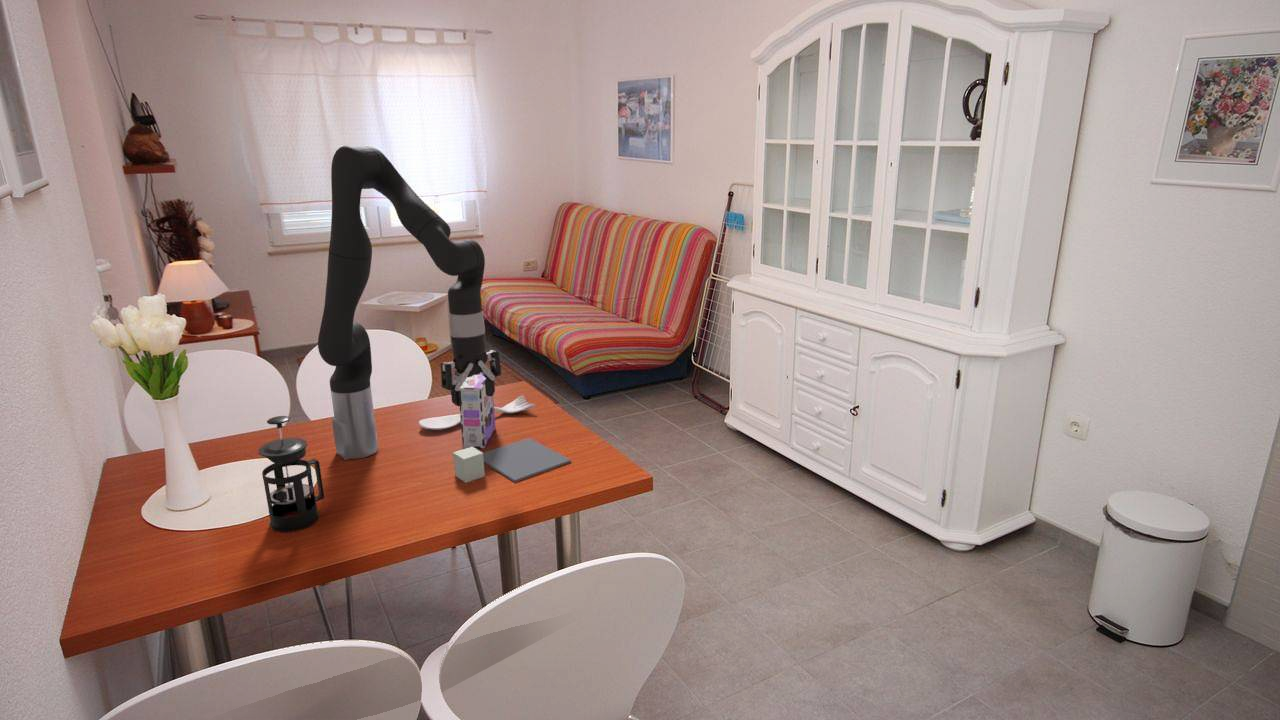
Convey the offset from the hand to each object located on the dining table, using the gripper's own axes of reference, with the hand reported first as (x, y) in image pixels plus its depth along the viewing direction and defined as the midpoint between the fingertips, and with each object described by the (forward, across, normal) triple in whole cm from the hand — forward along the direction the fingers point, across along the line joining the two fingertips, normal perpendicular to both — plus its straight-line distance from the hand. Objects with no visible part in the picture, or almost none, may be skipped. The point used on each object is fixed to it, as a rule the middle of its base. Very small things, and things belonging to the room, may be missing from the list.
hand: (474, 400), depth 168 cm
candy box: (+19, -12, -19) cm, 29 cm away
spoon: (+19, -19, -30) cm, 40 cm away
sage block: (+19, +2, -2) cm, 19 cm away
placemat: (+19, -12, 0) cm, 22 cm away
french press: (+18, +38, -10) cm, 44 cm away
